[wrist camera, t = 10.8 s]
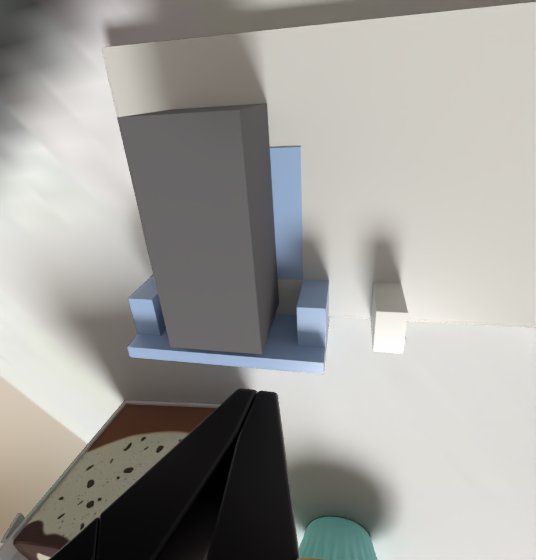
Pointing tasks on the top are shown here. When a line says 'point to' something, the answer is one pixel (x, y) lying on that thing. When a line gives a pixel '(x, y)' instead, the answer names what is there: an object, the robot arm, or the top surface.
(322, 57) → the miniature room diorama
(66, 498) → the food container
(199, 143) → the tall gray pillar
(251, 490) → the robot arm
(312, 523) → the cupcake
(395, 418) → the top surface
